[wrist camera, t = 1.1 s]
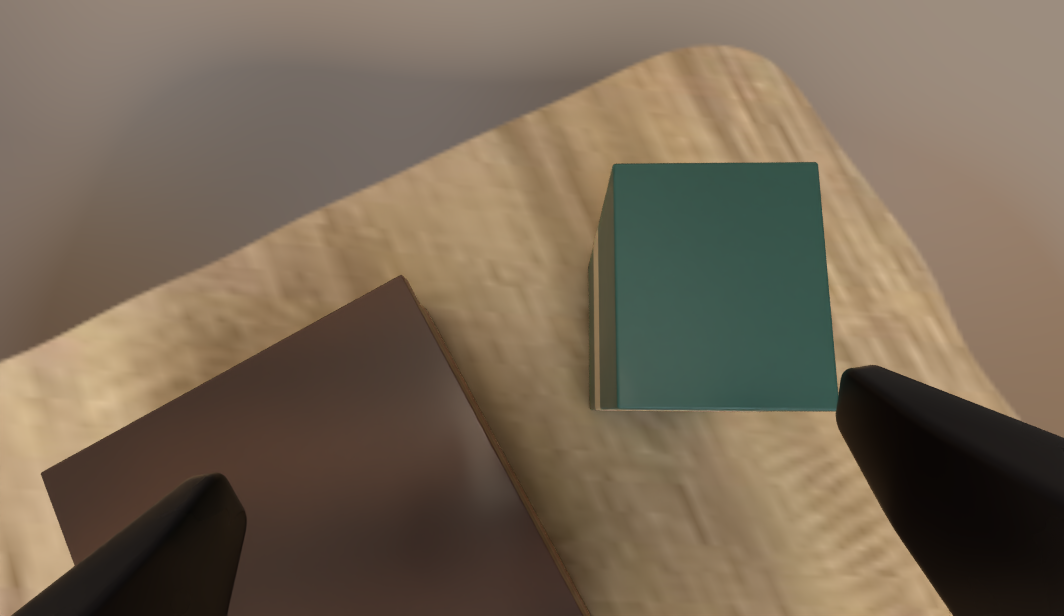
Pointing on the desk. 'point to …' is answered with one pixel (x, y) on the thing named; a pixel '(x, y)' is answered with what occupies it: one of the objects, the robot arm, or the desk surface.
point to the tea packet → (711, 290)
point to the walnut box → (338, 477)
